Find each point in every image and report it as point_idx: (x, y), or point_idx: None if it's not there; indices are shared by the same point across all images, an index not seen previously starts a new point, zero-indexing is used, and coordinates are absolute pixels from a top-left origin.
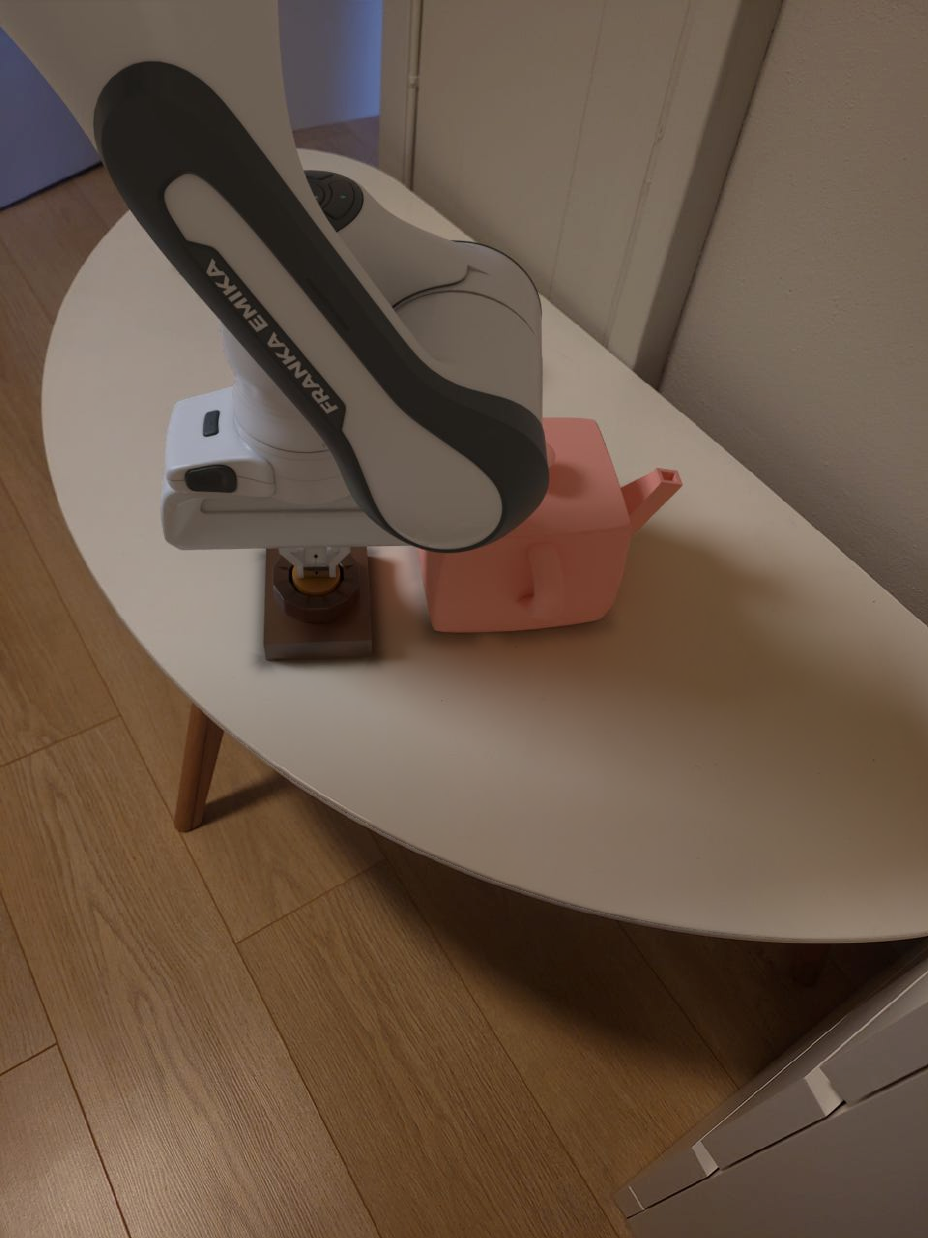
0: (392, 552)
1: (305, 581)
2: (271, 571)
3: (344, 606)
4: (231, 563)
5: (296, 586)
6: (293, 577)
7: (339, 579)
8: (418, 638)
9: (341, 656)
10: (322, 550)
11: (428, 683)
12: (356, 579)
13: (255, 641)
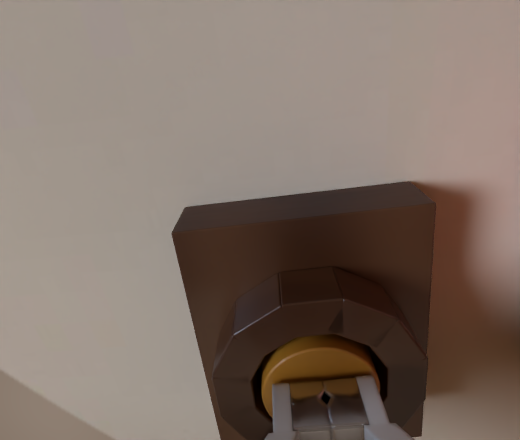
0: (474, 164)
1: None
2: (205, 318)
3: None
4: (110, 228)
5: None
6: (267, 409)
7: None
8: (491, 357)
9: None
10: (351, 435)
11: (491, 423)
12: (418, 395)
13: (204, 379)
